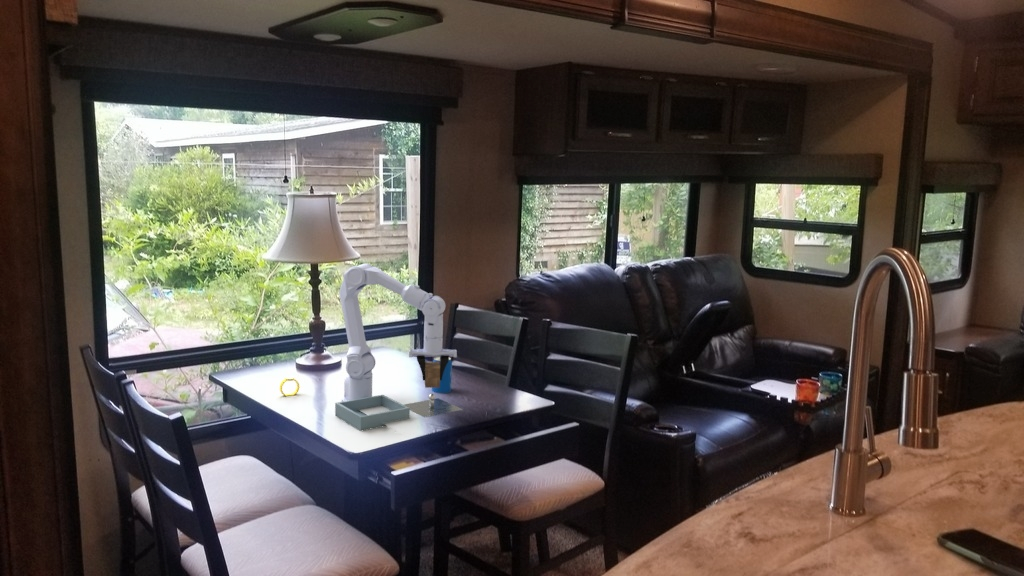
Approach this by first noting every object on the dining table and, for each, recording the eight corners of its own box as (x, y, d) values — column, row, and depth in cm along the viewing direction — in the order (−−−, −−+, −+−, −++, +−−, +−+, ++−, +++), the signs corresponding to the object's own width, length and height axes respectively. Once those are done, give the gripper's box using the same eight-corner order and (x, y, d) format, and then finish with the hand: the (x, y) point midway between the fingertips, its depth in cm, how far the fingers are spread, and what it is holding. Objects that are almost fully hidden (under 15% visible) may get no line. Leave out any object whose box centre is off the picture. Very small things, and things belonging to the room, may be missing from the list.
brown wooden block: (425, 387, 225) (425, 365, 224) (424, 383, 229) (425, 361, 228) (439, 387, 226) (440, 365, 225) (438, 383, 230) (439, 361, 229)
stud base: (400, 408, 230) (400, 391, 229) (438, 401, 238) (438, 385, 238) (424, 420, 219) (425, 403, 218) (463, 412, 228) (463, 396, 227)
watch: (296, 393, 242) (298, 376, 241) (299, 396, 239) (300, 378, 239) (278, 394, 238) (279, 376, 238) (280, 397, 236) (282, 379, 235)
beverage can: (447, 396, 244) (448, 361, 242) (429, 394, 245) (430, 359, 243) (453, 391, 250) (454, 357, 248) (435, 389, 251) (436, 355, 250)
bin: (335, 415, 220) (335, 402, 220) (382, 407, 230) (382, 394, 230) (360, 430, 208) (360, 417, 207) (409, 421, 218) (409, 408, 217)
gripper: (455, 333, 230) (454, 375, 232) (409, 333, 228) (408, 376, 230) (457, 338, 223) (456, 382, 225) (409, 338, 221) (408, 382, 223)
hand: (432, 379), depth 227 cm, fingers closed on brown wooden block, 4 cm apart
